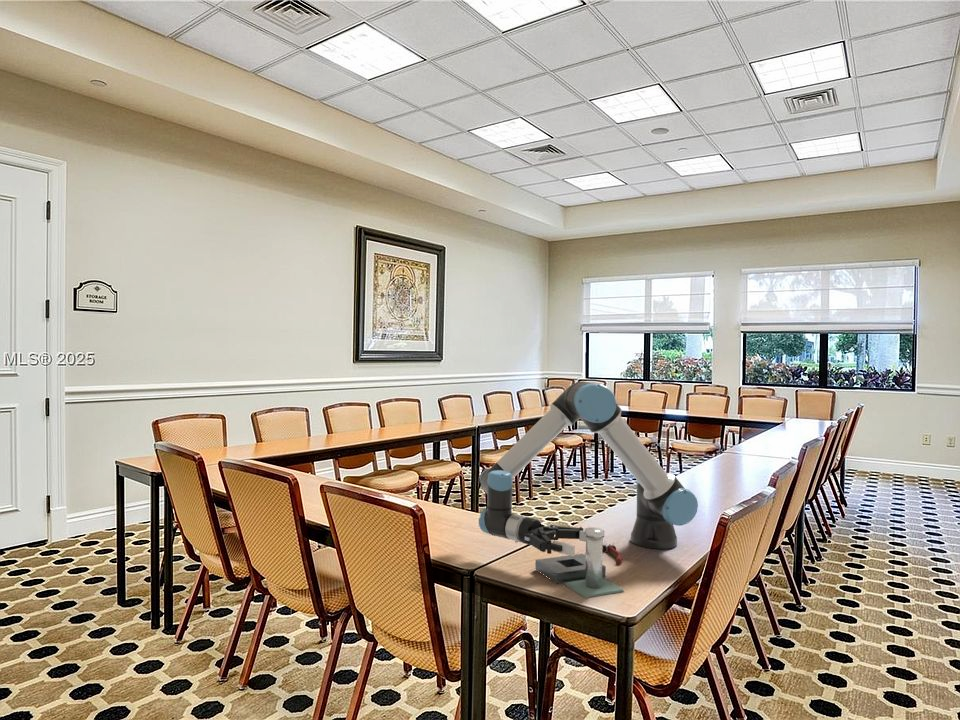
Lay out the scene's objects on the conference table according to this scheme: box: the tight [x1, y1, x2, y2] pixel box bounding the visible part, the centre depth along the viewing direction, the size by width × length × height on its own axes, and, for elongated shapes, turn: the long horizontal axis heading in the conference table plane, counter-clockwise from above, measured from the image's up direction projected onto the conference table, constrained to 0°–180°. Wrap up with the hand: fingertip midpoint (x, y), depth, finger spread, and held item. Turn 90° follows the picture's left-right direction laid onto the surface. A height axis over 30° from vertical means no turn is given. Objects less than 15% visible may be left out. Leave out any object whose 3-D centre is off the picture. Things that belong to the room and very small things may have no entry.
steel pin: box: [584, 527, 605, 589], centre depth 166 cm, size 5×5×15 cm
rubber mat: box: [564, 577, 624, 599], centre depth 166 cm, size 12×10×1 cm
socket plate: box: [534, 553, 607, 584], centre depth 177 cm, size 16×12×3 cm
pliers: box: [584, 540, 624, 566], centre depth 196 cm, size 12×20×3 cm, turn 162°
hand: (587, 545), depth 167 cm, fingers open, 13 cm apart
